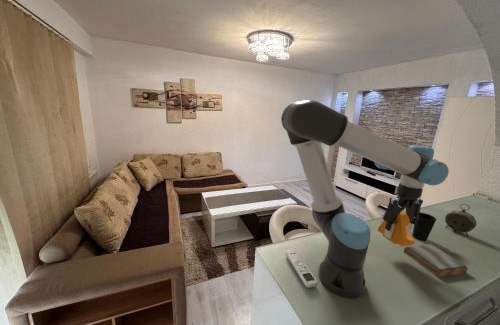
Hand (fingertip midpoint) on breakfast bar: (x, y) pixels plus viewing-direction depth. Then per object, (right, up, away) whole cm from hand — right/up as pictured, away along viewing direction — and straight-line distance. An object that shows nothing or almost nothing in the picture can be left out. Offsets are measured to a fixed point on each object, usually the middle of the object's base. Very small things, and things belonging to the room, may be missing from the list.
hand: (395, 236), depth 85 cm
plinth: (+15, -10, -1) cm, 18 cm away
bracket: (0, -1, 0) cm, 1 cm away
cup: (+23, -7, +16) cm, 29 cm away
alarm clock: (+48, -6, +23) cm, 54 cm away
